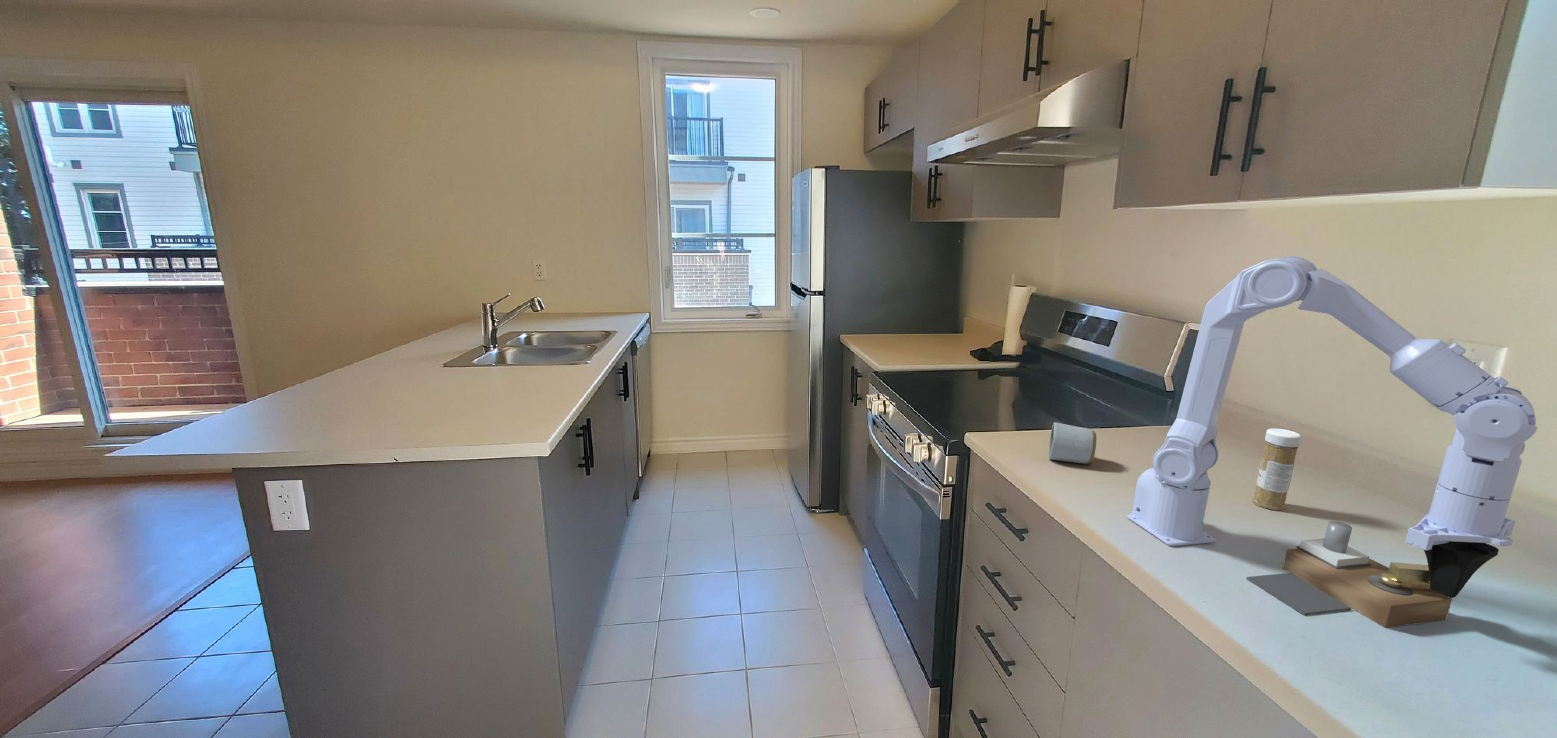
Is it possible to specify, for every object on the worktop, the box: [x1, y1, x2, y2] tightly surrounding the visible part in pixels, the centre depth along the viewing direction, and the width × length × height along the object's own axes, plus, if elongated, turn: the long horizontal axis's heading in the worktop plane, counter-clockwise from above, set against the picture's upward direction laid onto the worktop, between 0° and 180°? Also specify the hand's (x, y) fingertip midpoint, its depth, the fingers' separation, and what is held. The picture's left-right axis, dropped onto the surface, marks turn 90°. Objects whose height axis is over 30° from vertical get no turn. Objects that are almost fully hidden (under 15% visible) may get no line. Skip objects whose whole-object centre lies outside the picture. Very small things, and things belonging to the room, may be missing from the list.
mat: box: [1245, 572, 1352, 616], centre depth 80 cm, size 8×7×1 cm
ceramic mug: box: [1047, 422, 1097, 465], centre depth 125 cm, size 11×8×8 cm
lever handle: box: [1379, 561, 1432, 590], centre depth 76 cm, size 7×2×3 cm, turn 81°
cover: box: [1299, 520, 1370, 566], centre depth 83 cm, size 5×5×4 cm
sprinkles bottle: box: [1252, 428, 1302, 511], centre depth 104 cm, size 5×5×13 cm
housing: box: [1282, 545, 1453, 628], centre depth 80 cm, size 13×9×3 cm
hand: (1442, 593), depth 74 cm, fingers closed, pressing on lever handle
